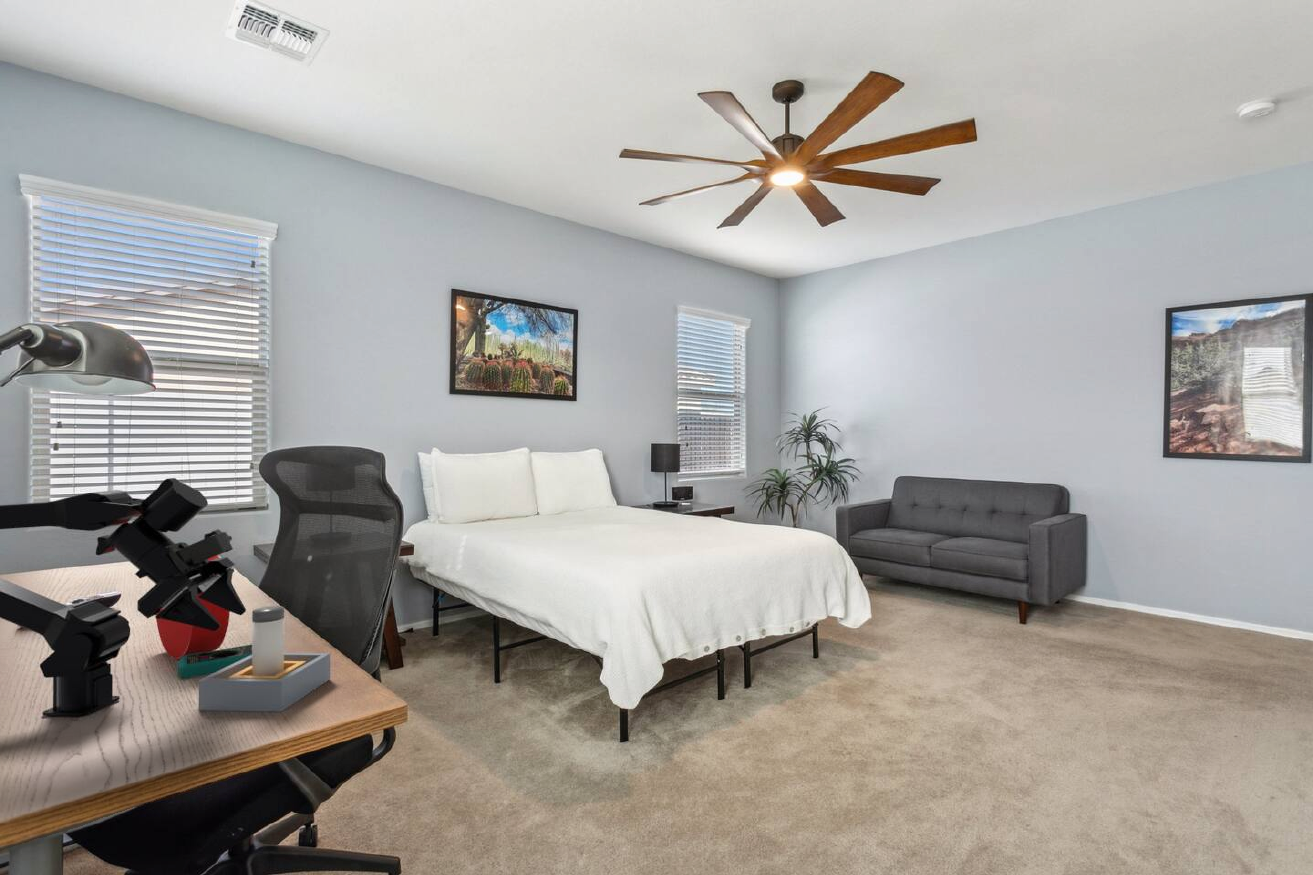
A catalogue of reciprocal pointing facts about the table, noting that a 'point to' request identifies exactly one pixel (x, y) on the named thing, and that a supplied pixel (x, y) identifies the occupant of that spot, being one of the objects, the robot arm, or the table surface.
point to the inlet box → (263, 684)
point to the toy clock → (193, 632)
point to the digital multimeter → (211, 661)
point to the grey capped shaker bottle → (267, 641)
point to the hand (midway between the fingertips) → (231, 620)
